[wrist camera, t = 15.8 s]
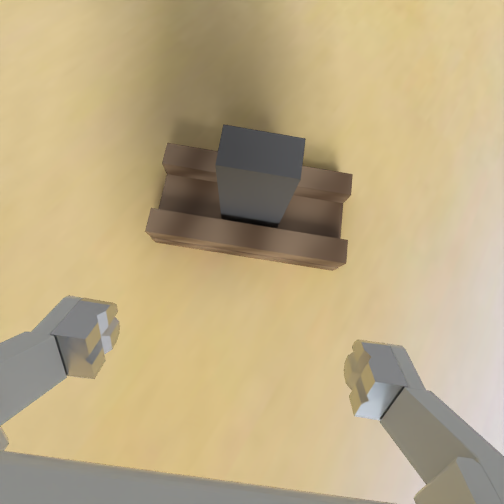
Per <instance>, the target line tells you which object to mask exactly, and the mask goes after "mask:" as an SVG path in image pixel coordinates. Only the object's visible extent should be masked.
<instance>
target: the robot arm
mask: <svg viewBox="0 0 504 504" xmlns="http://www.w3.org/2000/svg"><path fill="white" fill-rule="evenodd" d="M117 312H118V309H117V304H115V303H111V302H105V301H100V300H94V299H88V298H81V297H75V296H70V295H69V296H67V297H64V298H63V299H62V300H61V301H60V302H59V303H58V304H57V305H56V306H55V308H54V309H53V310H52V311H51V312H50V313H49V314H48V315H47V316H46V317H45V318H44V319H43V320H42V321H41V322H40V323H39V324H38V325H37V326H36V327H35V328H34V329H33V330H32V331H31V332H24V333H22V334H19V335H17V336H15V337H13V338H10V339H8V340H6V341H4V342H2V343H0V504H395V503H387V502H380V501H373V500H365V499H358V498H350V497H343V496H336V495H328V494H321V493H313V492H306V491H299V490H291V489H284V488H276V487H269V486H262V485H254V484H247V483H239V482H232V481H225V480H217V479H210V478H202V477H195V476H188V475H180V474H173V473H165V472H158V471H151V470H143V469H136V468H128V467H121V466H113V465H106V464H99V463H91V462H84V461H76V460H69V459H61V458H54V457H47V456H39V455H32V454H24V453H17V452H9V451H4V450H5V448H6V447H7V445H8V444H9V442H8V437H7V436H6V434H5V432H4V431H3V429H2V427H1V425H2V424H4V423H5V422H6V421H8V420H9V419H10V418H12V417H13V416H15V415H16V414H17V413H19V412H20V411H21V410H23V409H24V408H26V407H27V406H28V405H30V404H31V403H32V402H34V401H35V400H37V399H38V398H39V397H41V396H42V395H43V394H45V393H46V392H47V391H49V390H50V389H52V388H53V387H54V386H56V385H57V384H58V383H60V382H61V381H63V380H64V379H65V378H67V376H73V377H82V378H91V379H95V377H96V376H97V374H98V372H99V371H100V369H101V367H102V366H103V364H104V362H105V355H104V354H105V353H107V352H109V351H110V350H112V349H113V347H114V345H115V344H116V342H117V339H118V335H119V330H120V324H119V321H118V320H117V319H116V317H115V315H116V314H117ZM352 349H353V353H351V354H350V355H348V356H347V358H346V361H345V365H344V377H345V381H346V384H347V385H348V386H349V388H350V389H351V390H352V392H351V393H350V395H349V398H350V402H351V406H352V410H353V414H354V416H357V417H362V418H368V419H374V420H380V423H381V424H382V426H383V427H384V428H385V430H386V431H387V432H388V434H389V435H390V436H391V438H392V439H393V440H394V442H395V443H396V444H397V446H398V447H399V448H400V450H401V451H402V453H403V454H404V455H405V457H406V458H407V459H408V461H409V462H410V463H411V465H412V466H413V467H414V469H415V470H416V471H417V473H418V474H419V475H420V477H421V478H422V479H423V481H424V482H425V483H426V486H424V487H423V488H422V489H421V490H420V491H419V492H418V493H417V494H416V495H415V497H414V500H415V503H416V504H504V456H503V455H502V454H501V453H500V452H499V451H497V450H496V449H495V448H494V447H493V446H492V445H491V444H490V443H488V442H487V441H486V440H485V439H484V438H483V437H482V436H481V435H479V434H478V433H477V432H476V431H475V430H474V429H473V428H472V427H471V426H469V425H468V424H467V423H466V422H465V421H464V420H463V419H462V418H460V417H459V416H458V415H457V414H456V413H455V412H454V411H453V410H451V409H450V408H449V407H448V406H447V405H446V404H445V403H444V402H443V401H441V400H440V399H439V398H438V397H437V396H436V395H435V394H434V393H432V392H431V391H428V390H426V389H425V387H424V385H423V383H422V381H421V379H420V377H419V375H418V373H417V371H416V369H415V367H414V365H413V363H412V361H411V359H410V357H409V356H408V354H407V352H406V350H405V348H404V347H403V346H400V345H393V344H385V343H379V342H372V341H365V340H356V341H355V342H354V344H353V346H352Z"/></svg>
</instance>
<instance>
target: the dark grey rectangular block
mask: <svg viewBox="0 0 504 504" xmlns="http://www.w3.org/2000/svg"><path fill="white" fill-rule="evenodd" d="M304 147H305V138H299V137H293V136H287V135H282V134H276V133H270V132H264V131H258V130H252V129H247V128H241V127H235V126H229V125H223V129H222V134H221V139H220V144H219V149H218V154H217V159H216V164H215V166H216V175H217V184H218V192H219V201H220V210H221V218H222V219H224V220H230V221H237V222H243V223H249V224H255V225H261V226H267V227H273V228H277V227H278V225H279V223H280V221H281V219H282V217H283V215H284V213H285V211H286V209H287V207H288V205H289V202H290V200H291V198H292V196H293V194H294V192H295V190H296V188H297V186H298V184H299V182H300V180H301V173H302V164H303V156H304Z"/></svg>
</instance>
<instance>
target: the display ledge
mask: <svg viewBox="0 0 504 504" xmlns="http://www.w3.org/2000/svg"><path fill="white" fill-rule="evenodd" d="M217 154H218V151H212V150H206V149H201V148H195V147H189V146H183V145H177V144H171V143H167V146H166V150H165V154H164V158H163V162H162V164H163V166H164V168H165V171H166V173H167V176H166V181H165V185H164V189H163V193H162V197H161V201H160V205H159V209H154V208H151V210H150V214H149V218H148V222H147V226H146V230H145V231H146V232H147V233H148V234H149V235H150V236H151V237H152V239H153V240H154V241H155V242H157V243H164V244H170V245H176V246H182V247H189V248H195V249H201V250H207V251H214V252H220V253H226V254H232V255H239V256H245V257H251V258H257V259H264V260H270V261H276V262H282V263H289V264H295V265H301V266H307V267H314V268H320V269H326V270H332V271H333V270H335V269H337V268H338V267H340V266H342V265H344V264H346V258H347V244H348V240H344V239H340V237H341V224H342V211H343V203H344V202H345V201H346V200H347V199H348V198H349V197H350V196H351V188H352V174H348V173H342V172H336V171H330V170H324V169H318V168H312V167H306V166H302V173H301V180H300V182H299V184H298V186H297V188H296V190H295V192H294V194H293V196H292V198H291V200H290V202H289V205H288V207H287V209H286V211H285V213H284V215H283V217H282V219H281V221H280V223H279V225H278V227H277V228H273V227H267V226H261V225H255V224H249V223H243V222H237V221H230V220H224V219H222V218H221V210H220V201H219V192H218V184H217V175H216V166H215V164H216V159H217Z"/></svg>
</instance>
